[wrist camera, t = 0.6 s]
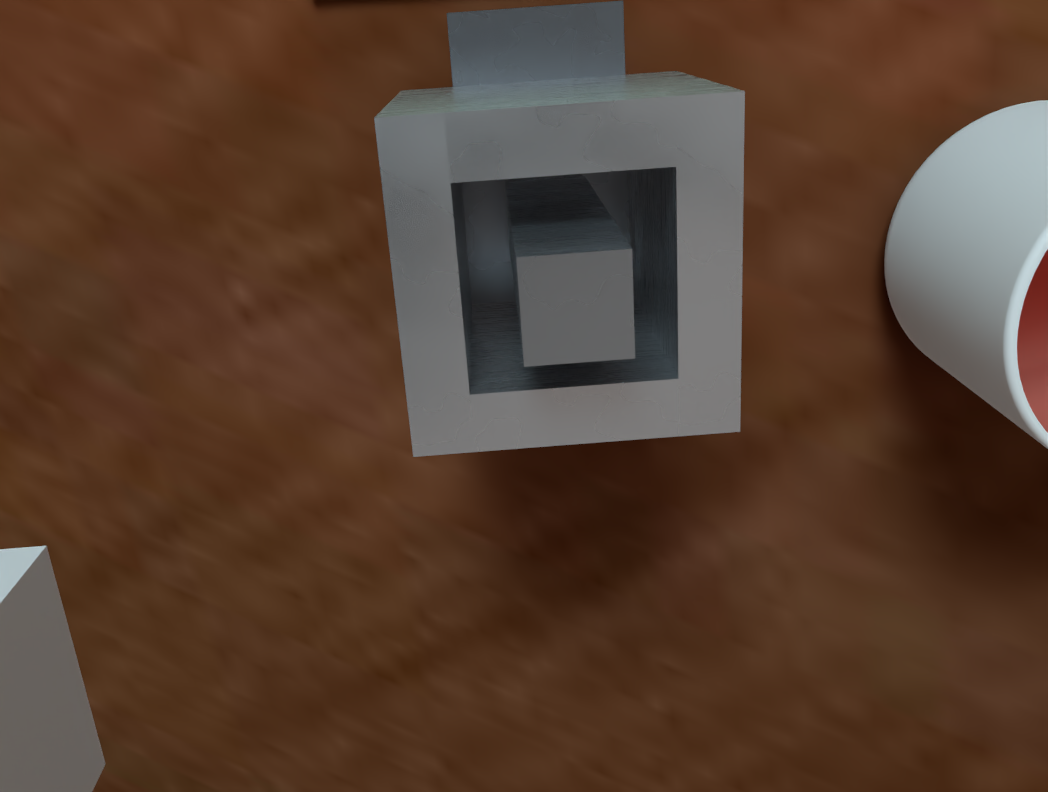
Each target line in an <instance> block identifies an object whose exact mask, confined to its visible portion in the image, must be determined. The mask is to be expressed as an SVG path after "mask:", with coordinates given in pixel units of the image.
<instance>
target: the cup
mask: <svg viewBox="0 0 1048 792" xmlns="http://www.w3.org/2000/svg"><path fill="white" fill-rule="evenodd" d="M884 273H885V282H886V288H887V293H888V297H889V300H890V303H891V307H892V309H893V311H894V314H895V316H896V318H897V320H898V322H899V324H900V326H901V327H902V329H903V330H904V332H905V333H906V335H907V336H908V338H909V339H910V340H911V341H912V342H913V344H914V345H915V346H916V347H917V348H918V349H919V350H920V351H921V352H922V353H923V354H925V355H926V356H927V357H928V358H930V359H931V360H932V361H933V362H935V363H936V364H937V365H939V366H940V367H941V368H943V369H944V370H945V371H947V372H948V373H949V374H950V375H952V376H953V377H954V378H956V379H957V380H958V381H960V382H961V383H962V384H964V385H965V386H966V387H967V388H969V389H970V390H971V391H973V392H974V393H975V394H977V395H978V396H979V397H981V398H982V399H983V400H984V401H986V402H987V403H988V404H990V405H991V406H992V407H994V408H995V409H996V410H998V411H999V412H1000V413H1001V414H1003V415H1004V416H1005V417H1007V418H1008V419H1009V420H1011V421H1012V422H1013V423H1014V424H1016V425H1017V426H1018V427H1020V428H1021V429H1022V430H1024V431H1025V432H1026V433H1027V434H1029V435H1030V436H1031V437H1033V438H1034V439H1035V440H1037V441H1038V442H1039V443H1041V444H1042V445H1043V446H1044V447H1046V448H1047V449H1048V100H1045V101H1034V102H1028V103H1021V104H1018V105H1014V106H1010V107H1007V108H1003V109H1001V110H998V111H996V112H993V113H990V114H988V115H986V116H984V117H982V118H980V119H978V120H976V121H974V122H972V123H970V124H969V125H967V126H966V127H964V128H963V129H961V130H959V131H958V132H956V133H955V134H954V135H952V136H951V137H950V138H949V139H947V140H946V141H945V142H944V143H942V144H941V145H940V146H939V147H938V148H937V149H936V150H935V151H934V152H933V153H932V154H931V155H930V156H929V157H928V158H927V159H926V160H925V162H924V163H923V164H922V165H921V167H920V168H919V169H918V170H917V171H916V173H915V174H914V176H913V177H912V179H911V180H910V182H909V183H908V185H907V186H906V188H905V190H904V192H903V194H902V196H901V198H900V200H899V201H898V204H897V206H896V209H895V211H894V214H893V216H892V220H891V223H890V226H889V230H888V234H887V239H886V245H885V256H884Z"/></svg>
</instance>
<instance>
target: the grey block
mask: <svg viewBox="0 0 1048 792" xmlns="http://www.w3.org/2000/svg"><path fill="white" fill-rule="evenodd" d="M447 22H448V34H449V45H450V57H451V68H452V80H453V87H460V86H474V85H488V84H502V83H516V82H530V81H544V80H558V79H572V78H586V77H600V76H614V75H625V52H624V16H623V1H613V2H598V3H584V4H570V5H556V6H541V7H527V8H513V9H499V10H484V11H470V12H456V13H447ZM461 183H462V195H463V206H464V218H465V229H466V241H467V252H468V263H469V275H470V286H471V298H472V304H473V303H486V302H500V301H513V300H516V307H517V315H518V323H519V331H520V339H521V347H522V355H523V363H524V367H529V366H542V365H556V364H569V363H582V362H595V361H608V360H622V359H635V334H634V297H633V260H632V248H631V246H630V232H629V196H628V170H624V171H610V172H597V173H583V174H569V175H555V176H542V177H528V178H514V179H500V180H487V181H473V182H461Z"/></svg>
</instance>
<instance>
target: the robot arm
mask: <svg viewBox="0 0 1048 792" xmlns="http://www.w3.org/2000/svg"><path fill="white" fill-rule="evenodd" d="M104 766H105V761H104V757H103V753H102V750H101V746H100V742H99V739H98V735H97V731H96V728H95V724H94V720H93V716H92V713H91V709H90V705H89V702H88V698H87V694H86V690H85V687H84V683H83V679H82V676H81V672H80V668H79V665H78V661H77V657H76V653H75V650H74V646H73V642H72V639H71V635H70V631H69V628H68V624H67V620H66V616H65V613H64V609H63V605H62V602H61V598H60V594H59V590H58V587H57V583H56V579H55V576H54V572H53V568H52V565H51V561H50V557H49V553H48V550H47V546H38V547H25V548H13V549H0V792H92V791H93V789H94V786H95V784H96V782H97V780H98V778H99V776H100V774H101V772H102V770H103V768H104Z"/></svg>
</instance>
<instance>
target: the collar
mask: <svg viewBox="0 0 1048 792" xmlns="http://www.w3.org/2000/svg"><path fill="white" fill-rule="evenodd" d="M744 108H745V91H742V90H739V89H735V88H732V87H729V86H725V85H722V84H719V83H715V82H712V81H708V80H705V79H702V78H698V77H695V76H692V75H688V74H685V73H681V72H678V71H670V72H656V73H642V74H628V75H614V76H600V77H586V78H572V79H558V80H544V81H530V82H516V83H502V84H488V85H474V86H460V87H446V88H432V89H418V90H404V91H401V92H400V93H399V94H398V95H397V96H396V97H395V98H394V99H393V100H392V101H391V102H390V103H389V104H388V105H387V106H386V107H385V108H384V109H383V110H382V111H381V112H380V113H379V114H378V115H377V116H376V117H375V118H374V120H375V129H376V138H377V146H378V155H379V163H380V172H381V181H382V189H383V198H384V207H385V215H386V224H387V233H388V241H389V250H390V259H391V267H392V276H393V285H394V293H395V302H396V311H397V319H398V328H399V337H400V345H401V354H402V363H403V371H404V380H405V389H406V397H407V406H408V414H409V423H410V432H411V440H412V449H413V457H417V456H430V455H443V454H456V453H469V452H482V451H495V450H508V449H521V448H534V447H547V446H560V445H573V444H586V443H599V442H612V441H625V440H638V439H651V438H664V437H677V436H690V435H703V434H716V433H729V432H740V406H741V331H742V257H743V182H744ZM624 170H628V196H629V232H630V246H631V248H632V260H633V297H634V334H635V359H622V360H608V361H595V362H582V363H569V364H556V365H542V366H529V367H524V363H523V355H522V347H521V339H520V331H519V323H518V315H517V307H516V300H513V301H500V302H486V303H473V304H472V298H471V286H470V275H469V263H468V252H467V241H466V229H465V218H464V206H463V195H462V183H461V182H473V181H487V180H500V179H514V178H528V177H542V176H555V175H569V174H583V173H597V172H610V171H624Z"/></svg>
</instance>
